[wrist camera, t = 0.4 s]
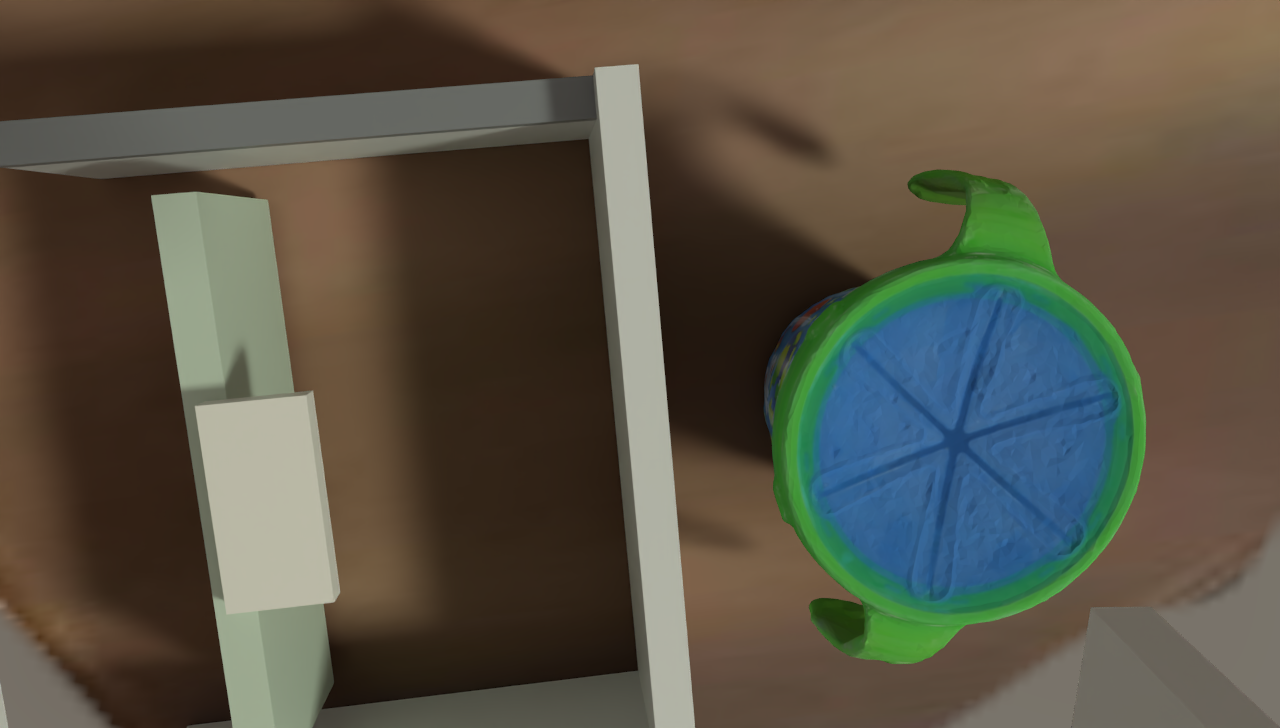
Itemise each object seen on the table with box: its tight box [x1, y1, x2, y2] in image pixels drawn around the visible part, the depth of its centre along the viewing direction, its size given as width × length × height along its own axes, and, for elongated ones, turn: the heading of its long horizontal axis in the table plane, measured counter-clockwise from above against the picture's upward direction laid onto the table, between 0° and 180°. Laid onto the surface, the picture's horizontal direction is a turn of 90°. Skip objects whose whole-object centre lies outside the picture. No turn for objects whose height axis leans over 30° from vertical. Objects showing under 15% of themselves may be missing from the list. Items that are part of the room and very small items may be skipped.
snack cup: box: [764, 170, 1146, 664], centre depth 33 cm, size 16×10×10 cm
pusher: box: [151, 192, 340, 728], centre depth 32 cm, size 18×4×8 cm, turn 5°
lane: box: [0, 64, 695, 728], centre depth 32 cm, size 22×18×8 cm
